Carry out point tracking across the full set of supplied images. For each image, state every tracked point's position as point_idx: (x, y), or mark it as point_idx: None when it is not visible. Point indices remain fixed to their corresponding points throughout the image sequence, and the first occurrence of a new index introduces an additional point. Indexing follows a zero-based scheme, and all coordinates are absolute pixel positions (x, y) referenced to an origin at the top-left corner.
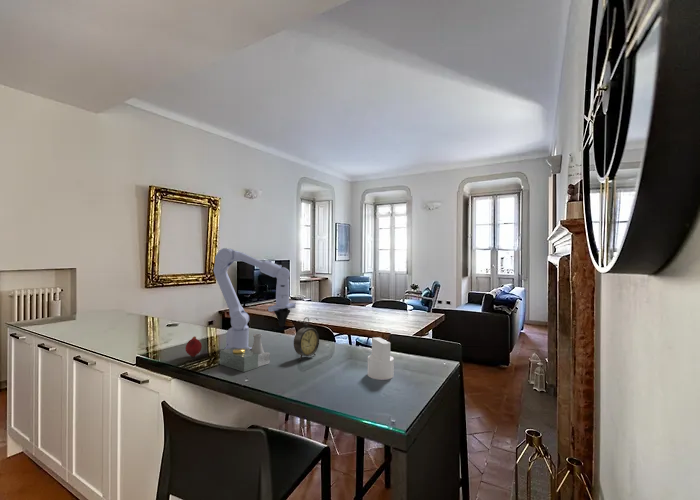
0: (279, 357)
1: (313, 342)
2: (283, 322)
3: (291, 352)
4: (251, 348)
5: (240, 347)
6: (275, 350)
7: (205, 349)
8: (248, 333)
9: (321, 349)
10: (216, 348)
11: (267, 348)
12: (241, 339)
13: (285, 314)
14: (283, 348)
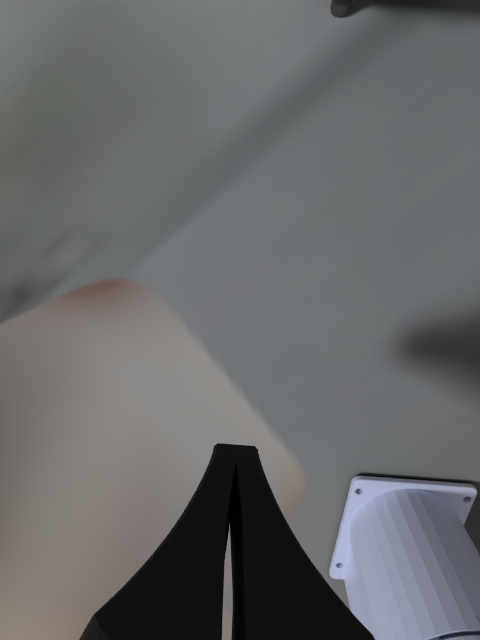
0: (450, 186)
1: None
2: (251, 480)
3: (273, 202)
4: (366, 479)
5: (451, 512)
6: (296, 343)
7: None
8: (411, 595)
9: (9, 8)
10: None
11: (284, 418)
12: (475, 560)
13: (220, 595)
14: (216, 332)
